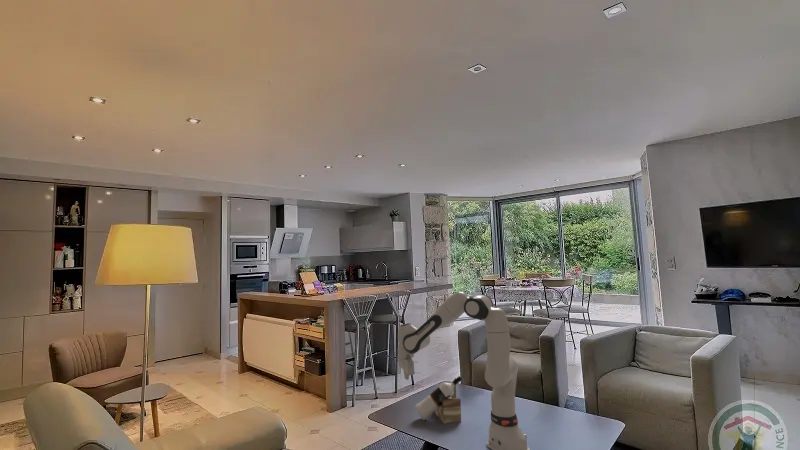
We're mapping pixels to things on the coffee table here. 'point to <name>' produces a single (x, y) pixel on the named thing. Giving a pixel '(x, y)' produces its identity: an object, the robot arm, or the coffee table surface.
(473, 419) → the coffee table surface
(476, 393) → the coffee table surface
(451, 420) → the cradle
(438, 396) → the vodka
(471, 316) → the robot arm
